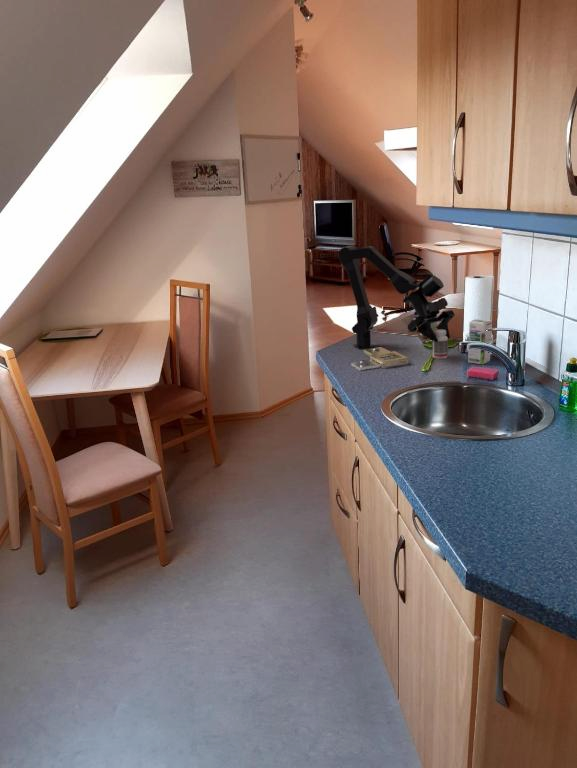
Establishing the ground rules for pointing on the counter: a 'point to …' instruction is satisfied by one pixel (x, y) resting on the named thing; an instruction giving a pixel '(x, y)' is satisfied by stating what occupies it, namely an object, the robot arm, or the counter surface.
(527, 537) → the counter surface
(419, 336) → the food container
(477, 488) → the counter surface
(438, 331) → the pill bottle
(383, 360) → the beige flat piece
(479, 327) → the syrup box
